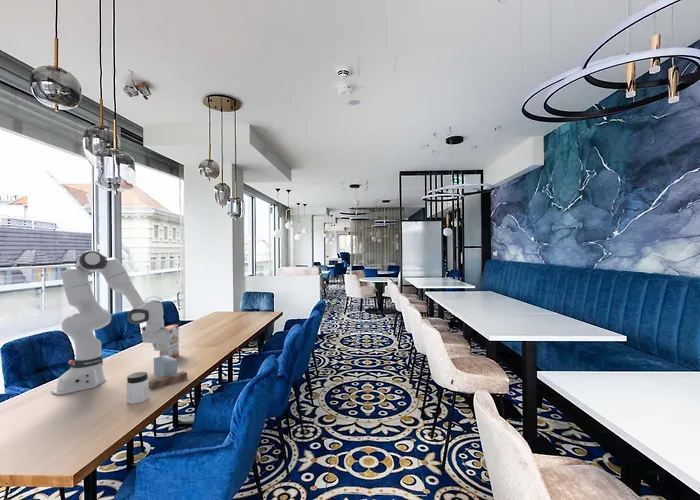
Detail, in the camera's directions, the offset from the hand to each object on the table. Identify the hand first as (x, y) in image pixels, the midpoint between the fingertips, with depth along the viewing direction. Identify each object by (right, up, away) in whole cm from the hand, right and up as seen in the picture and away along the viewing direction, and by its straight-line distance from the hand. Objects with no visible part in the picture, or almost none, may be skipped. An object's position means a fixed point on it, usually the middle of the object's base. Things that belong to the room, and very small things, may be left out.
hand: (157, 350), depth 205 cm
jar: (+15, -11, -42) cm, 46 cm away
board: (+19, -11, -22) cm, 31 cm away
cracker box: (-4, -12, +22) cm, 26 cm away
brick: (+9, -12, -8) cm, 17 cm away
